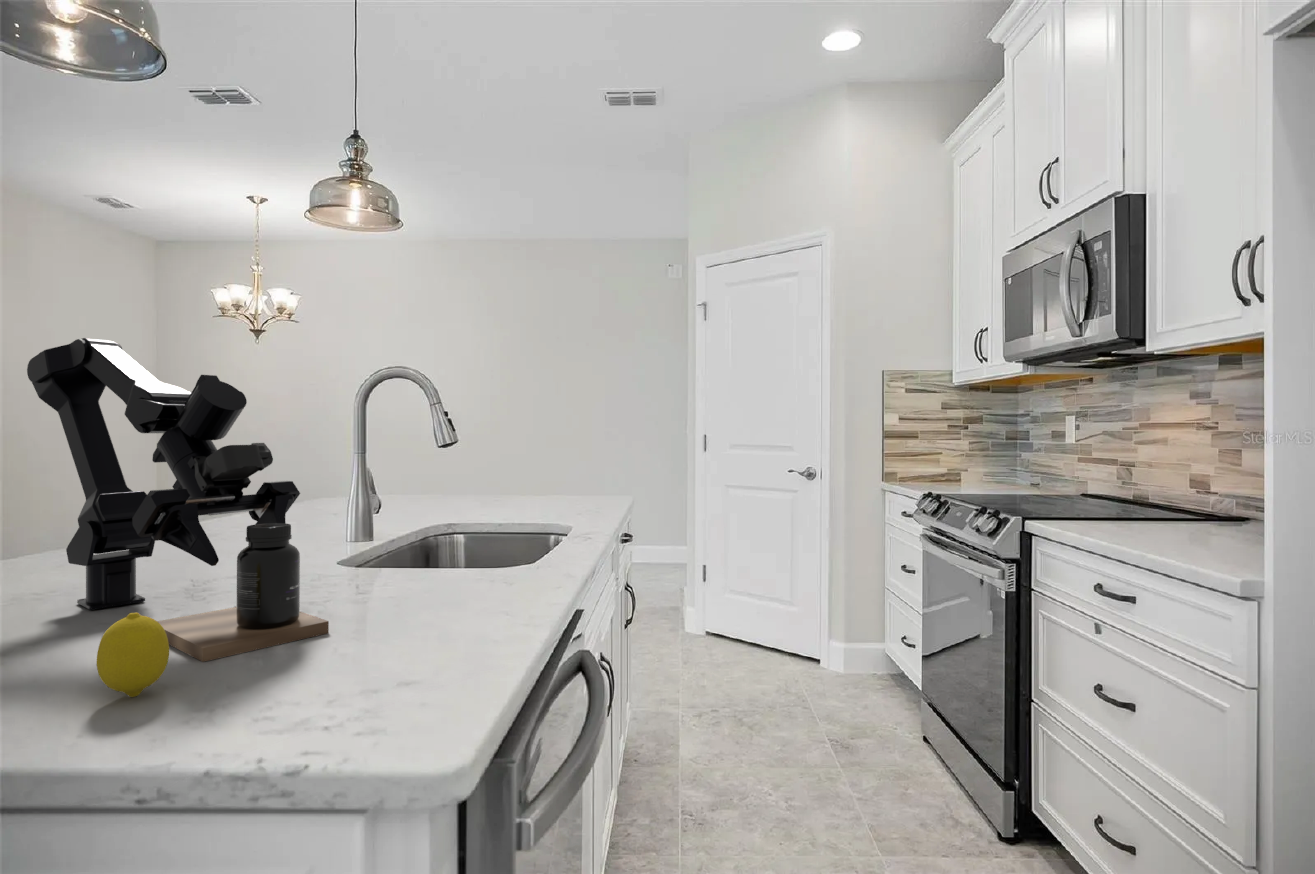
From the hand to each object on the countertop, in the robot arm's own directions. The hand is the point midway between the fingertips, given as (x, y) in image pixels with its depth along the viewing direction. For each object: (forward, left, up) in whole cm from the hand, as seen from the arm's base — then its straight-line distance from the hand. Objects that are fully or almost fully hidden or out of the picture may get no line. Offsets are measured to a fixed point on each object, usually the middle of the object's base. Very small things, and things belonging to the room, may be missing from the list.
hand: (252, 557), depth 89 cm
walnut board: (0, -1, -9) cm, 9 cm away
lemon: (+14, -16, -9) cm, 23 cm away
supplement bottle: (+3, +1, -8) cm, 9 cm away
